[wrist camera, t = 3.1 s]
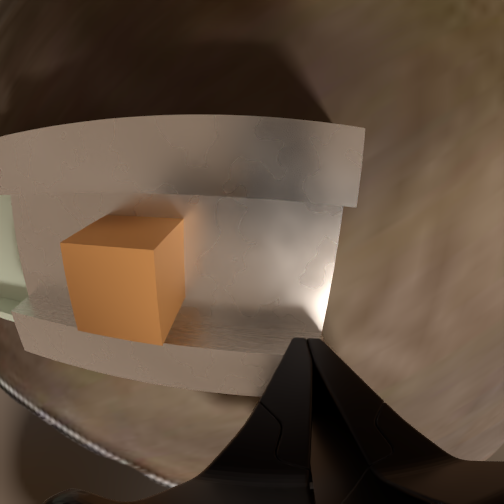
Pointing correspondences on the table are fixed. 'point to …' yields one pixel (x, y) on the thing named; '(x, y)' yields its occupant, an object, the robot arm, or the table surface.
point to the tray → (9, 263)
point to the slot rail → (188, 235)
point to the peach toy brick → (126, 276)
